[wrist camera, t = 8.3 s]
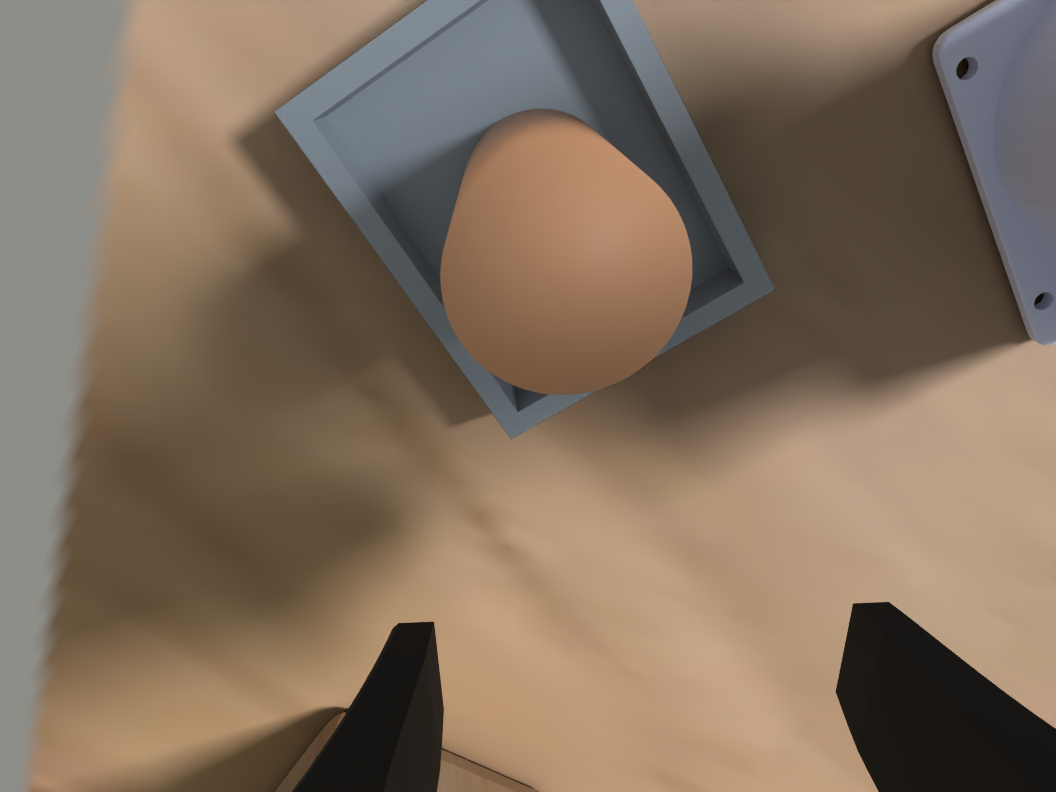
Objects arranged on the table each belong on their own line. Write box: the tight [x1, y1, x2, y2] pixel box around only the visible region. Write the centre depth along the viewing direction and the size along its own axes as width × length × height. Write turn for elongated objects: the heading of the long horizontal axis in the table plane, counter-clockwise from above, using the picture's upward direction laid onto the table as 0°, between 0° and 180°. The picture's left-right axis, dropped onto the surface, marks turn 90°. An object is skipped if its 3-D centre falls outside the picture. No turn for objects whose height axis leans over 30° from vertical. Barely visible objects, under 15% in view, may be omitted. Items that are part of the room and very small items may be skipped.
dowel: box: [440, 108, 692, 395], centre depth 15 cm, size 4×4×8 cm
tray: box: [275, 0, 775, 439], centre depth 19 cm, size 10×8×2 cm
